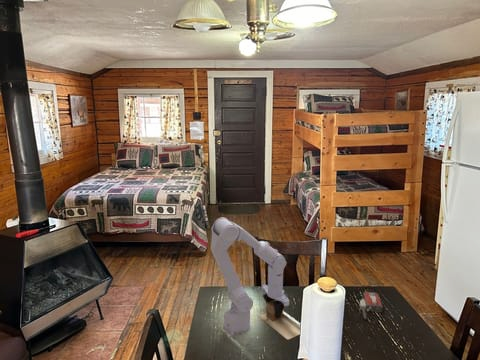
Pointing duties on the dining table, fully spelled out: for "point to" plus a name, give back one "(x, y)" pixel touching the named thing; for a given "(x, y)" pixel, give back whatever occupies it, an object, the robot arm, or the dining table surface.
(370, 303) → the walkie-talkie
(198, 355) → the dining table surface
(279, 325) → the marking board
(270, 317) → the brown knobbed block
